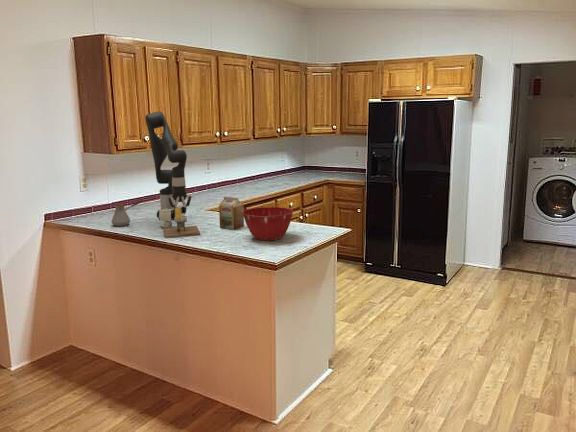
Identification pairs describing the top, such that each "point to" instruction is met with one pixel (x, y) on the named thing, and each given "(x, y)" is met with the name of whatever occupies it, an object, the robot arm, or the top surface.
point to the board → (187, 232)
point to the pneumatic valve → (166, 216)
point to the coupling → (180, 215)
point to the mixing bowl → (268, 222)
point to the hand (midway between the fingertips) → (180, 213)
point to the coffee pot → (122, 215)
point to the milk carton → (231, 214)
